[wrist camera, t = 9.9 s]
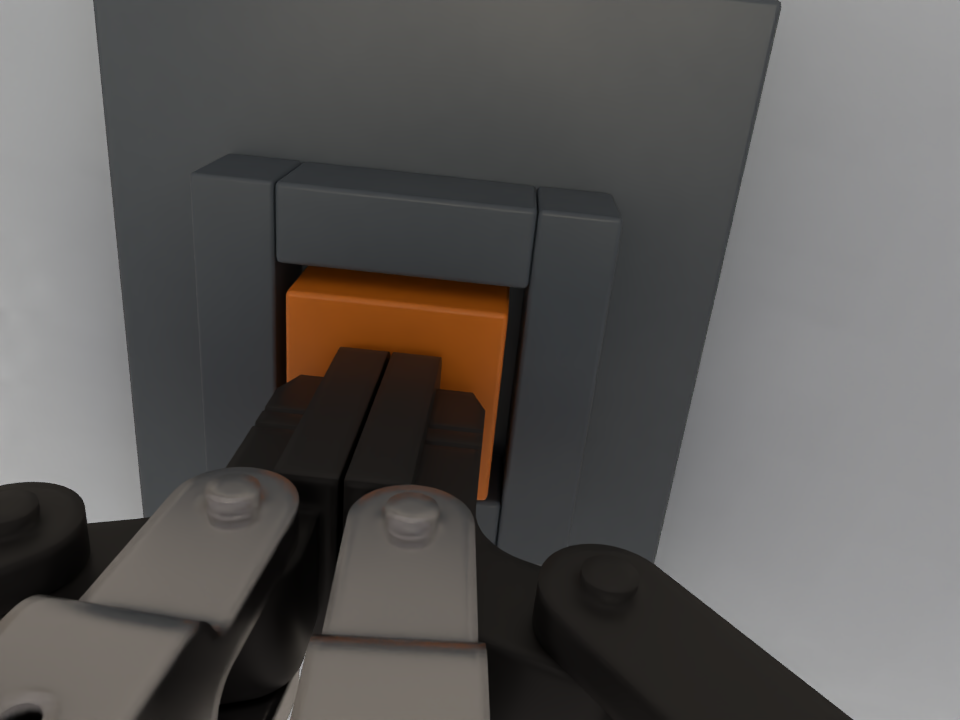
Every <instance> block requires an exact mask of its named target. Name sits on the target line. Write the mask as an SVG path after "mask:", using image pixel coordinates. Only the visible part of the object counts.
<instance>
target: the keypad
mask: <svg viewBox="0 0 960 720" xmlns="http://www.w3.org/2000/svg"><path fill="white" fill-rule="evenodd" d="M93 2H94V12H95V23H96V33H97V43H98V53H99V64H100V74H101V84H102V94H103V105H104V115H105V125H106V135H107V146H108V156H109V166H110V177H111V187H112V197H113V207H114V218H115V228H116V238H117V248H118V259H119V269H120V279H121V289H122V300H123V310H124V320H125V330H126V341H127V351H128V361H129V372H130V382H131V392H132V402H133V413H134V423H135V433H136V443H137V454H138V464H139V474H140V484H141V495H142V505H143V515H144V518H147V517H151V516H152V515H153V514H154V513H155V511H156V510H157V509H158V508H159V507H160V506H161V505H162V503H163V502H164V501H165V500H166V499H167V498H168V497H169V495H170V494H171V493H172V492H173V491H174V490H175V489H176V488H177V487H178V486H179V485H181V484H182V483H184V482H185V481H187V480H189V479H191V478H193V477H194V476H197V475H200V474H202V473H205V472H209V471H212V470H216V469H222V468H226V466H227V465H228V463H229V462H230V460H231V459H232V457H233V456H234V454H235V452H236V451H237V449H238V448H239V446H240V445H241V443H242V442H243V440H244V439H245V437H246V435H247V434H248V432H249V431H250V429H251V428H252V426H255V421H256V420H257V418H258V417H259V415H260V414H261V412H262V411H264V410H265V406H266V404H267V403H268V401H269V400H270V398H271V397H272V395H273V394H274V392H275V390H276V389H277V388H279V387H280V386H282V385H284V384H286V383H287V371H286V293H287V291H288V290H289V288H290V287H291V286H292V285H293V283H294V282H295V281H296V280H297V279H298V277H299V276H300V275H301V274H302V273H303V271H304V270H305V269H306V268H307V267H308V266H317V267H327V268H336V269H345V270H355V271H364V272H374V273H383V274H392V275H402V276H411V277H421V278H430V279H439V280H449V281H458V282H468V283H477V284H486V285H496V286H505V287H510V295H509V313H508V324H507V333H506V341H505V350H504V358H503V367H502V376H501V384H500V393H499V401H498V410H497V419H496V427H495V436H494V444H493V453H492V462H491V470H490V479H489V487H488V496H487V497H486V499H485V500H477V504H476V519H477V523H478V525H479V527H480V529H481V531H482V532H483V534H484V535H485V536H486V537H487V538H488V539H489V540H490V541H491V542H492V543H493V544H494V545H496V546H497V547H498V548H500V549H501V550H503V551H505V552H506V553H508V554H510V555H512V556H514V557H517V558H519V559H522V560H524V561H527V562H530V563H533V564H536V565H539V566H542V564H543V563H544V562H545V560H546V559H547V558H548V557H549V556H550V555H552V554H553V553H554V552H556V551H558V550H560V549H562V548H565V547H569V546H572V545H578V544H604V545H610V546H615V547H619V548H622V549H625V550H628V551H631V552H633V553H636V554H638V555H640V556H641V557H643V558H645V559H647V560H648V561H650V562H651V563H653V564H654V562H655V557H656V553H657V548H658V544H659V540H660V535H661V531H662V527H663V522H664V518H665V513H666V509H667V505H668V500H669V496H670V492H671V487H672V483H673V478H674V474H675V470H676V465H677V461H678V457H679V452H680V448H681V444H682V439H683V435H684V430H685V426H686V422H687V417H688V413H689V409H690V404H691V400H692V395H693V391H694V387H695V382H696V378H697V374H698V369H699V365H700V360H701V356H702V352H703V347H704V343H705V339H706V334H707V330H708V325H709V321H710V317H711V312H712V308H713V304H714V299H715V295H716V291H717V286H718V282H719V277H720V273H721V269H722V264H723V260H724V256H725V251H726V247H727V242H728V238H729V234H730V229H731V225H732V221H733V216H734V212H735V207H736V203H737V199H738V194H739V190H740V186H741V181H742V177H743V172H744V168H745V164H746V159H747V155H748V151H749V146H750V142H751V138H752V133H753V129H754V124H755V120H756V116H757V111H758V107H759V103H760V98H761V94H762V89H763V85H764V81H765V76H766V72H767V68H768V63H769V59H770V54H771V50H772V46H773V41H774V37H775V33H776V28H777V24H778V19H779V15H780V11H781V2H780V1H778V0H93Z"/></svg>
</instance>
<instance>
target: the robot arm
mask: <svg viewBox="0 0 960 720" xmlns="http://www.w3.org/2000/svg"><path fill="white" fill-rule="evenodd" d="M441 368H442V358H441V357H436V356H427V355H417V354H408V353H398V352H393V353H392V355H390V352H387V351H378V350H369V349H359V348H350V347H340V348H339V349H338V351H337V353H336V355H335V357H334V358H333V360H332V362H331V364H330V366H329V368H328V370H327V371H326V373H325V375H324V377H320V376H310V375H299V376H298V377H296V378H294V379H292V380H291V381H289V382H287V383H286V384H284V385H282V386H280V387H279V388H277V389H276V390H275V392H274V394H273V395H272V397H271V398H270V400H269V401H268V403H267V404H266V406H265V410H264V411H262V412H261V414H260V415H259V417H258V418H257V420H256V421H255V426H252V428H251V429H250V431H249V432H248V434H247V435H246V437H245V439H244V440H243V442H242V443H241V445H240V446H239V448H238V449H237V451H236V452H235V454H234V456H233V457H232V459H231V460H230V462H229V463H228V465H227V466H226V468H222V469H216V470H212V471H209V472H205V473H202V474H200V475H197V476H194V477H193V478H191V479H189V480H187V481H185V482H184V483H182V484H181V485H179V486H178V487H177V488H176V489H175V490H174V491H173V492H172V493H171V494H170V495H169V497H168V498H167V499H166V500H165V501H164V502H163V503H162V505H161V506H160V507H159V508H158V509H157V510H156V511H155V513H154V514H153V515H152V516H151V517H147V518H140V519H130V520H120V521H109V522H98V523H87V519H86V512H85V505H84V502H83V500H82V498H81V497H80V496H79V495H78V494H77V493H76V492H74V491H73V490H71V489H69V488H66V487H64V486H60V485H57V484H52V483H44V482H23V483H14V484H6V485H2V486H0V720H287V719H288V716H289V714H290V712H291V709H292V707H293V710H292V714H291V718H290V720H853V719H852V718H850V717H849V716H848V715H846V714H845V713H844V712H843V711H841V710H840V709H839V708H838V707H836V706H835V705H834V704H832V703H831V702H830V701H829V700H827V699H826V698H825V697H823V696H822V695H821V694H820V693H818V692H817V691H816V690H814V689H813V688H812V687H811V686H809V685H808V684H807V683H805V682H804V681H803V680H802V679H800V678H799V677H798V676H797V675H795V674H794V673H793V672H791V671H790V670H789V669H788V668H786V667H785V666H784V665H782V664H781V663H780V662H779V661H777V660H776V659H775V658H773V657H772V656H771V655H770V654H768V653H767V652H766V651H765V650H763V649H762V648H761V647H759V646H758V645H757V644H756V643H754V642H753V641H752V640H750V639H749V638H748V637H747V636H745V635H744V634H743V633H741V632H740V631H739V630H738V629H736V628H735V627H734V626H733V625H731V624H730V623H729V622H727V621H726V620H725V619H724V618H722V617H721V616H720V615H718V614H717V613H716V612H715V611H713V610H712V609H711V608H709V607H708V606H707V605H706V604H704V603H703V602H702V601H701V600H699V599H698V598H697V597H695V596H694V595H693V594H692V593H690V592H689V591H688V590H686V589H685V588H684V587H683V586H681V585H680V584H679V583H677V582H676V581H675V580H674V579H672V578H671V577H670V576H668V575H667V574H666V573H665V572H663V571H662V570H661V569H660V568H658V567H657V566H656V565H654V564H653V563H651V562H650V561H648V560H647V559H645V558H643V557H641V556H640V555H638V554H636V553H633V552H631V551H628V550H625V549H622V548H619V547H615V546H610V545H604V544H578V545H572V546H569V547H565V548H562V549H560V550H558V551H556V552H554V553H553V554H552V555H550V556H549V557H548V558H547V559H546V560H545V562H544V563H543V564H542V566H539V565H536V564H533V563H530V562H527V561H524V560H522V559H519V558H517V557H514V556H512V555H510V554H508V553H506V552H505V551H503V550H501V549H500V548H498V547H497V546H496V545H494V544H493V543H492V542H491V541H490V540H489V539H488V538H487V537H486V536H485V535H484V534H483V532H482V531H481V529H480V527H479V525H478V523H477V519H476V504H477V493H478V483H479V472H480V462H481V452H482V441H483V431H484V420H485V409H484V408H483V407H482V405H481V404H480V402H479V401H478V399H477V398H476V396H475V395H474V394H473V393H472V392H462V391H453V390H443V389H440V381H441ZM305 653H306V654H305ZM304 656H305V659H304ZM303 659H304V663H303V667H302V671H301V676H300V680H299V668H300V666H301V664H302V662H303ZM293 705H294V706H293Z"/></svg>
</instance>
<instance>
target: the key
mask: <svg viewBox="0 0 960 720" xmlns="http://www.w3.org/2000/svg"><path fill="white" fill-rule="evenodd" d="M509 295H510V287H505V286H496V285H486V284H477V283H468V282H458V281H449V280H439V279H430V278H421V277H411V276H402V275H392V274H383V273H374V272H364V271H355V270H345V269H336V268H327V267H317V266H308V267H307V268H306V269H305V270H304V271H303V273H302V274H301V275H300V276H299V277H298V279H297V280H296V281H295V282H294V283H293V285H292V286H291V287H290V288H289V290H288V291H287V293H286V371H287V382H289V381H291V380H292V379H294V378H296V377H298V376H299V375H310V376H320V377H324V375H325V373H326V371H327V370H328V368H329V366H330V364H331V362H332V360H333V358H334V357H335V355H336V353H337V351H338V349H339V348H340V347H350V348H359V349H369V350H378V351H387V352H390V355H392V353H393V352H398V353H408V354H417V355H427V356H436V357H441V358H442V368H441V381H440V389H443V390H453V391H462V392H472V393H473V394H474V395H475V396H476V398H477V399H478V401H479V402H480V404H481V405H482V407H483V408H484V409H485V420H484V431H483V441H482V452H481V462H480V472H479V483H478V493H477V500H485V499H486V497H487V496H488V487H489V479H490V470H491V462H492V453H493V444H494V436H495V427H496V419H497V410H498V401H499V393H500V384H501V376H502V367H503V358H504V350H505V341H506V333H507V324H508V313H509Z"/></svg>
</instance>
